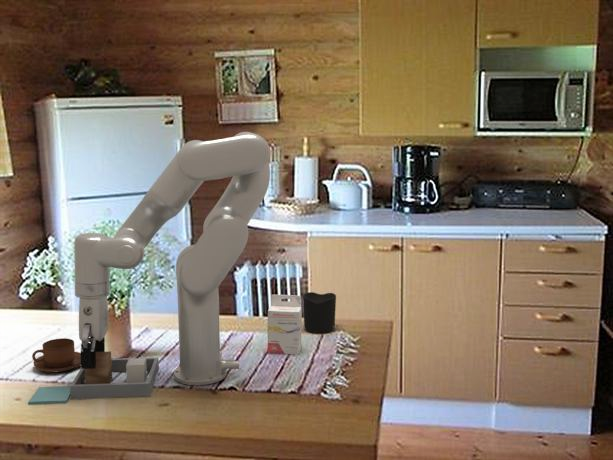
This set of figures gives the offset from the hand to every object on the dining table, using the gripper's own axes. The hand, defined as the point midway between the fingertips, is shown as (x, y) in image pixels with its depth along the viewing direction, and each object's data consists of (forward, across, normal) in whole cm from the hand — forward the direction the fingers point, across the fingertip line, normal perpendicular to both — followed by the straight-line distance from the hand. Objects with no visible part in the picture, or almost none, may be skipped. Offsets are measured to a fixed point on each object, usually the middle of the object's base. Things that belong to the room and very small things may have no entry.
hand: (93, 360), depth 159 cm
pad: (+6, -6, +8) cm, 11 cm away
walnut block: (+6, 0, -1) cm, 6 cm away
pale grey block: (+6, +1, -10) cm, 11 cm away
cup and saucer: (+7, +12, +11) cm, 18 cm away
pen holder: (+3, +35, -56) cm, 66 cm away
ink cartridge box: (+4, +18, -45) cm, 49 cm away
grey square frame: (+6, 0, -5) cm, 8 cm away
